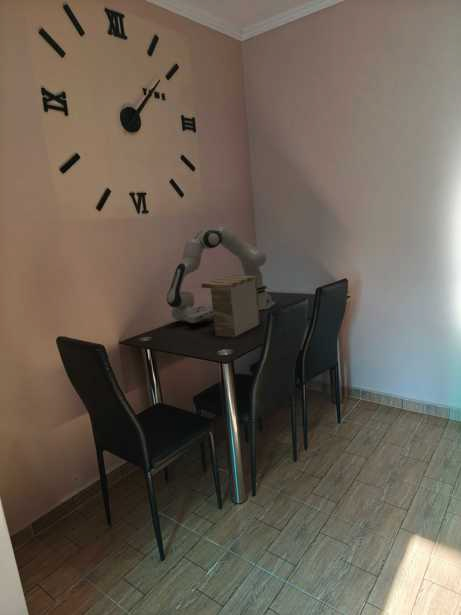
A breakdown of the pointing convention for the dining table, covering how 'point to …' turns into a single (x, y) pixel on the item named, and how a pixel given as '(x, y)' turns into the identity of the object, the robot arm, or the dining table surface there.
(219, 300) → the wooden shelf
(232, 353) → the dining table surface
